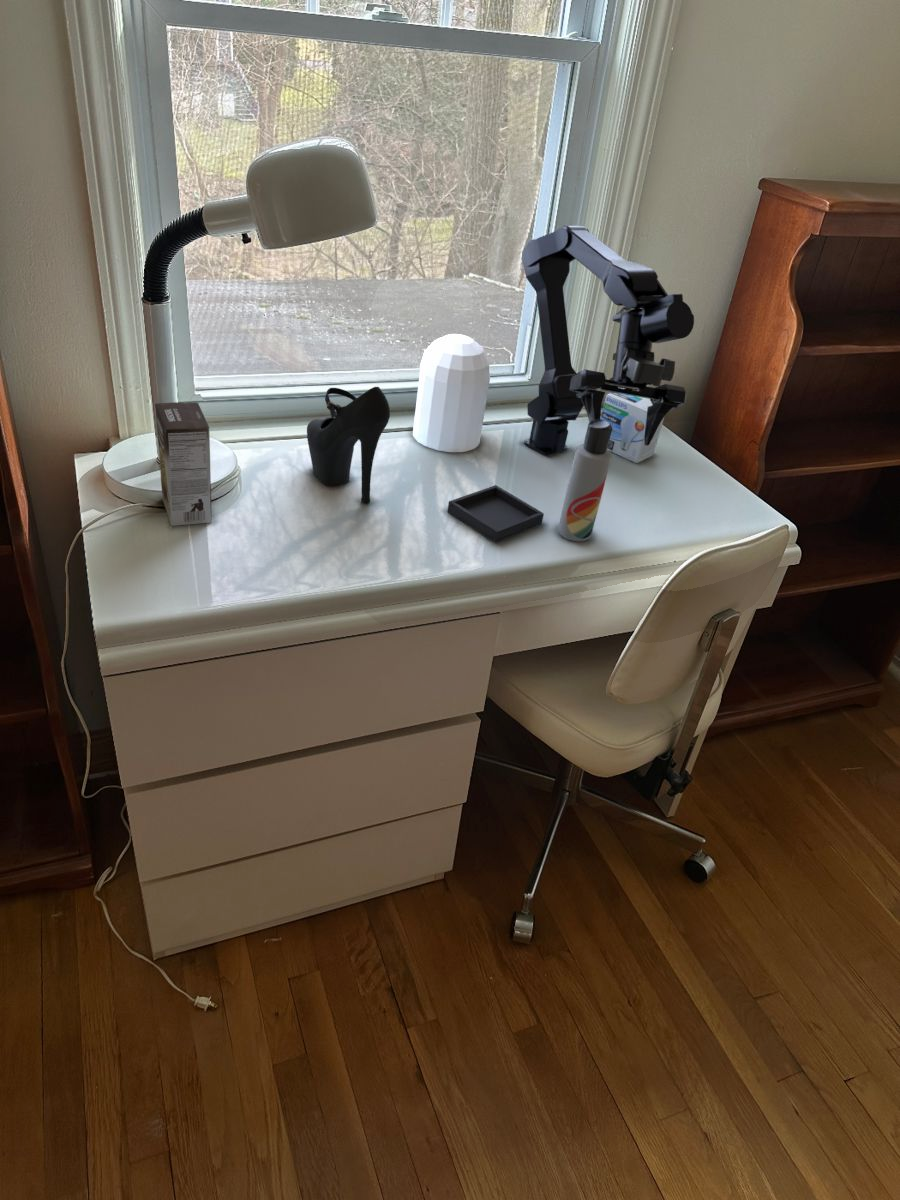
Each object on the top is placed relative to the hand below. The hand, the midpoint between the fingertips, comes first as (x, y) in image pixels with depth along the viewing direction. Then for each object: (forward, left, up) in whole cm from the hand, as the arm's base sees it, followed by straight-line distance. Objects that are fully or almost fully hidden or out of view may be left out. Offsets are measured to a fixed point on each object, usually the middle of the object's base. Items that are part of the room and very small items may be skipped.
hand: (621, 441), depth 146 cm
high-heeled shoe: (-31, -34, -14) cm, 48 cm away
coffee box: (-36, -60, -14) cm, 71 cm away
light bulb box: (-14, +25, -14) cm, 32 cm away
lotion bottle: (+2, -10, -14) cm, 17 cm away
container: (-36, -4, -14) cm, 39 cm away
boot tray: (-9, -18, -14) cm, 25 cm away
